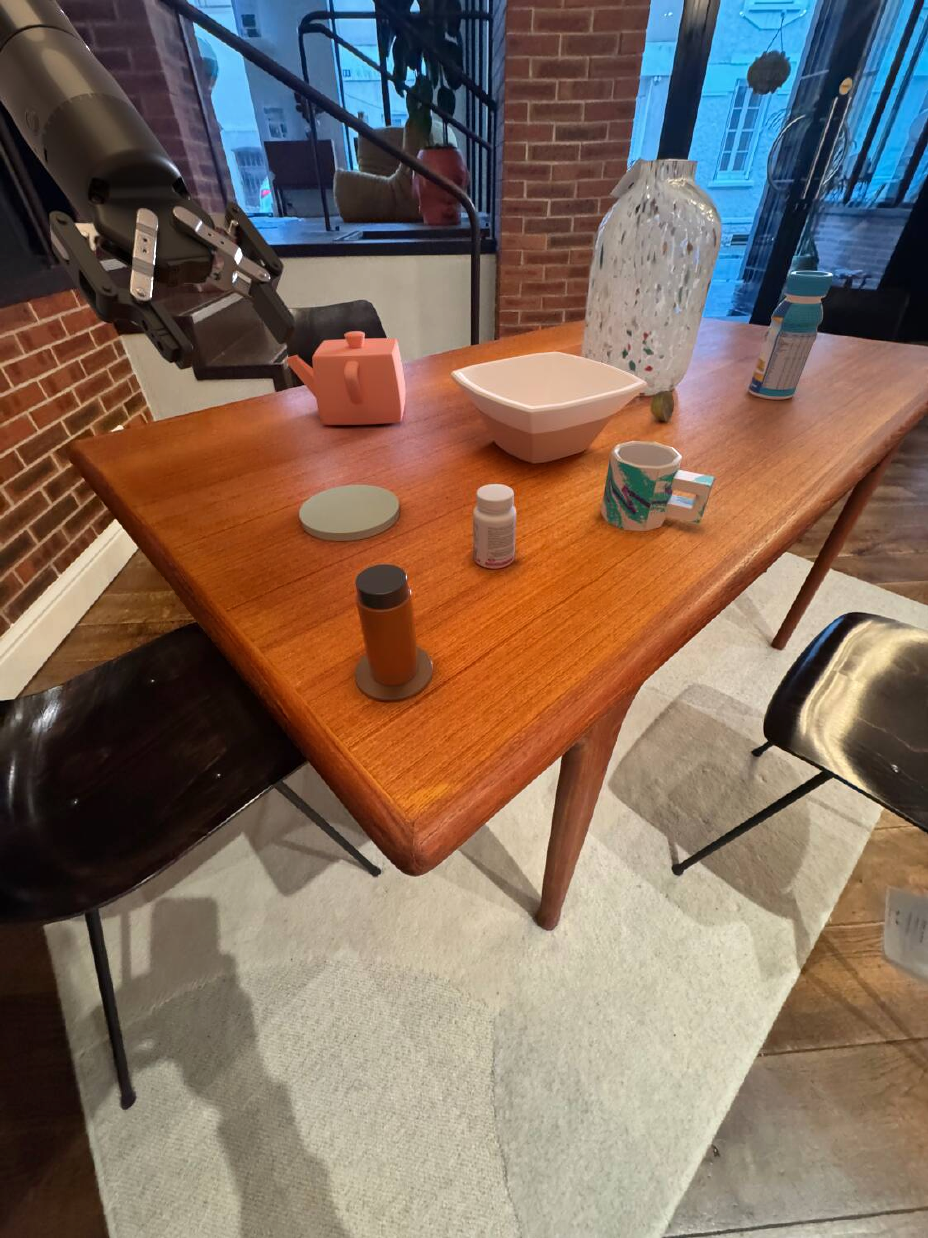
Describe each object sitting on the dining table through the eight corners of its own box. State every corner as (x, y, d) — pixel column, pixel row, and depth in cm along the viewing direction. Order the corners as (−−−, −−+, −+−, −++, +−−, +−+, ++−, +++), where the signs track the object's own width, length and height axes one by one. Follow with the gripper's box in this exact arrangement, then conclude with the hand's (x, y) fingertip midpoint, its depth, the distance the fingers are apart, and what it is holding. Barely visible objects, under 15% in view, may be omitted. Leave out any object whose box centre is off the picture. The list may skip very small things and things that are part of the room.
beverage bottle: (775, 403, 98) (820, 278, 85) (737, 391, 104) (774, 272, 91) (803, 395, 101) (851, 273, 88) (765, 384, 107) (804, 268, 94)
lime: (670, 414, 95) (677, 385, 92) (676, 424, 91) (683, 394, 88) (645, 414, 96) (651, 385, 92) (649, 423, 92) (656, 394, 89)
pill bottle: (521, 554, 61) (525, 488, 56) (501, 574, 58) (504, 506, 53) (486, 543, 63) (487, 478, 58) (465, 562, 60) (464, 495, 55)
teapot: (408, 395, 106) (402, 317, 97) (402, 436, 90) (393, 347, 81) (311, 398, 106) (295, 320, 97) (286, 440, 89) (264, 351, 80)
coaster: (366, 712, 44) (365, 709, 44) (347, 658, 49) (346, 655, 48) (444, 687, 46) (443, 684, 45) (418, 637, 51) (418, 634, 50)
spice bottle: (377, 692, 45) (360, 601, 38) (364, 659, 48) (346, 570, 42) (425, 677, 46) (416, 587, 40) (410, 645, 49) (399, 557, 43)
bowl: (648, 452, 83) (663, 382, 76) (521, 491, 73) (525, 415, 66) (554, 409, 98) (559, 347, 91) (439, 437, 89) (436, 371, 82)
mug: (613, 495, 72) (624, 435, 67) (704, 515, 67) (723, 453, 62) (593, 522, 67) (603, 459, 61) (690, 546, 62) (710, 480, 57)
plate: (310, 550, 63) (308, 542, 62) (293, 503, 72) (291, 495, 71) (412, 527, 66) (412, 519, 66) (384, 485, 76) (383, 477, 75)
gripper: (184, 192, 44) (302, 360, 46) (-12, 198, 35) (144, 405, 37) (197, 97, 38) (332, 295, 40) (-35, 77, 29) (151, 330, 31)
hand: (241, 348), depth 38 cm, fingers open, 8 cm apart
